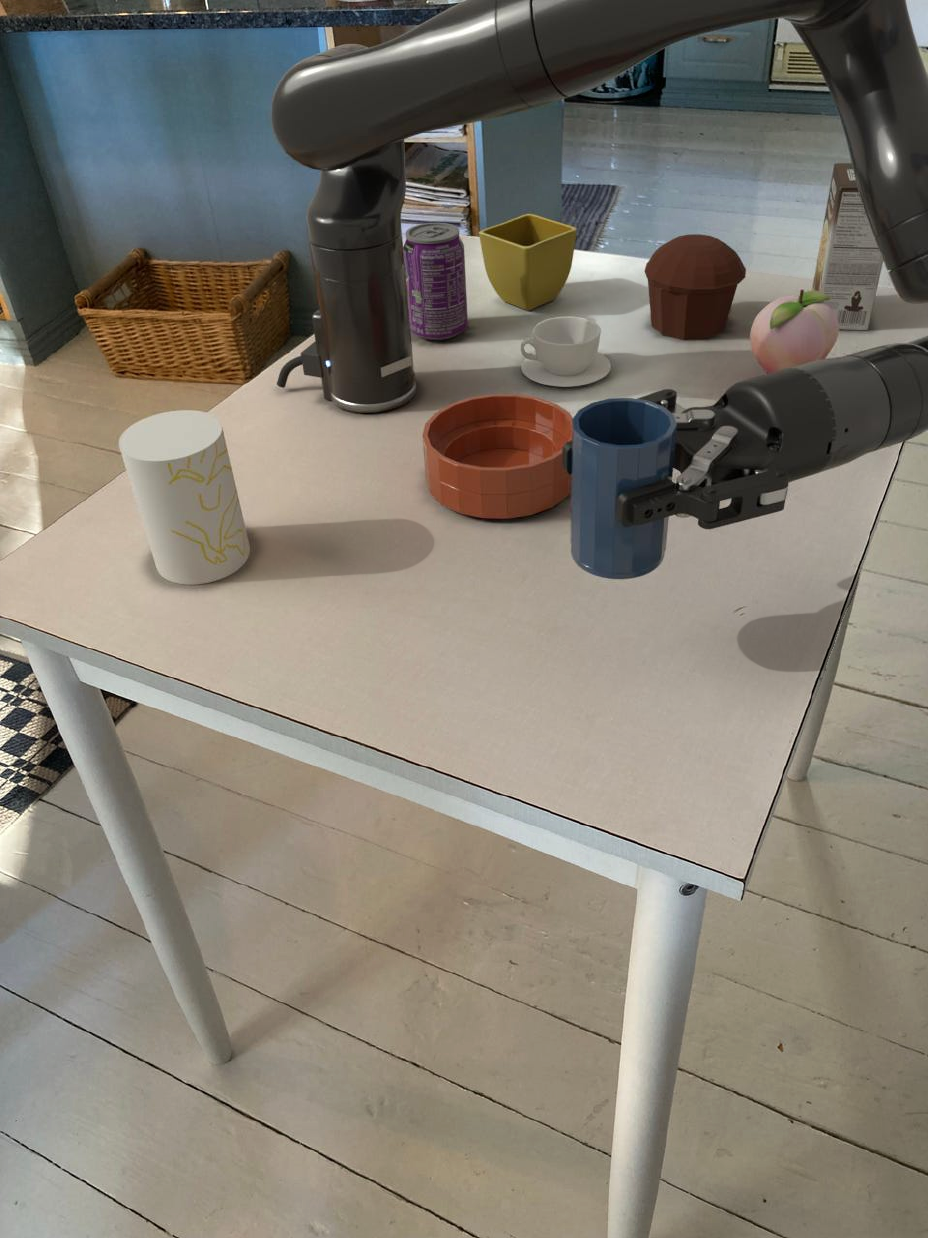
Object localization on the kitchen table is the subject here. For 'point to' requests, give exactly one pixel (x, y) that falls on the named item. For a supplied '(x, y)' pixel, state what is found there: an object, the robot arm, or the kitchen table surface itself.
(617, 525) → the tumbler
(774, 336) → the decorative fruit
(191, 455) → the cup
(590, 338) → the teacup
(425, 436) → the bowl
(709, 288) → the muffin
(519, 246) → the flower pot
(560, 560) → the kitchen table surface
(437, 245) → the beverage can
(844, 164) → the coffee box
